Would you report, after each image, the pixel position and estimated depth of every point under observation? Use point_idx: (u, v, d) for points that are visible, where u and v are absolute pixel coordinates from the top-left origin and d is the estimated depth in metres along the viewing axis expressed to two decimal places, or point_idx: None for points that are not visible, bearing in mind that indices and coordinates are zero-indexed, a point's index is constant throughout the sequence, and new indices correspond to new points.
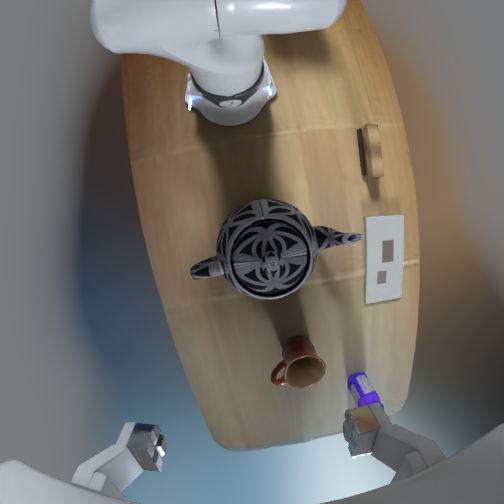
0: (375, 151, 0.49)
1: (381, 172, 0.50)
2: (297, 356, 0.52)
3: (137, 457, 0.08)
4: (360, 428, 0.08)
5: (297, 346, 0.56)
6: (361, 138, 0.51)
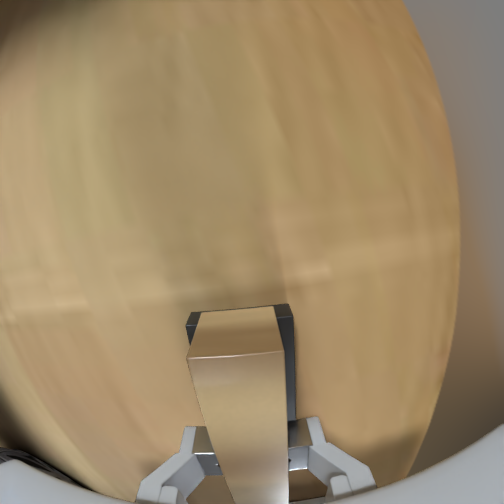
0: (251, 469, 0.08)
1: None
2: None
3: (202, 463, 0.08)
4: (290, 442, 0.08)
5: None
6: None
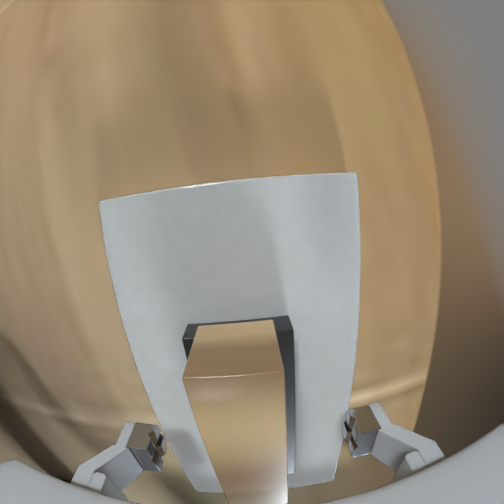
0: (249, 483, 0.08)
1: None
2: None
3: (137, 457, 0.08)
4: (360, 428, 0.08)
5: None
6: None
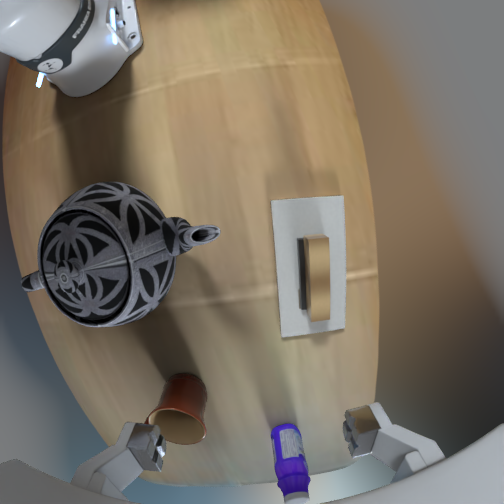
0: (319, 284, 0.34)
1: (326, 314, 0.35)
2: (160, 406, 0.33)
3: (137, 457, 0.08)
4: (360, 428, 0.08)
5: (172, 390, 0.37)
6: (302, 254, 0.36)
